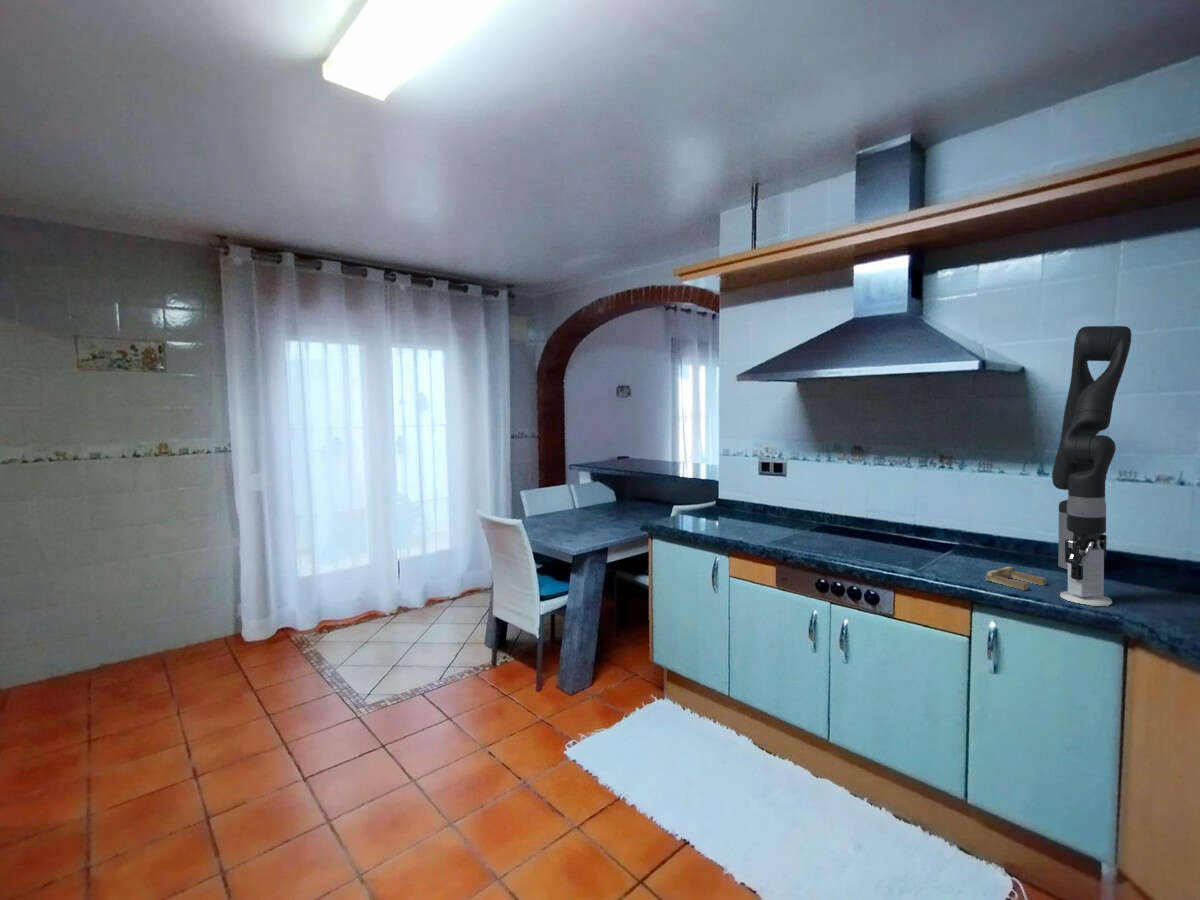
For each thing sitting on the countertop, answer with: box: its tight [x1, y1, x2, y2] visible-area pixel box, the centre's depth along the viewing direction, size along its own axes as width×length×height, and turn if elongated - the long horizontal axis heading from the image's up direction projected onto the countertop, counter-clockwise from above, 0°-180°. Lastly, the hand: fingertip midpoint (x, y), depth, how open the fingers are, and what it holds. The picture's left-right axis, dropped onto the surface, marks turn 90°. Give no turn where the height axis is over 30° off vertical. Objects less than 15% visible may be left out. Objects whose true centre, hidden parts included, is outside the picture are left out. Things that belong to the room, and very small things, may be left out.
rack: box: [985, 566, 1047, 591], centre depth 156 cm, size 10×10×3 cm
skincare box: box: [1067, 548, 1105, 597], centre depth 141 cm, size 6×4×12 cm
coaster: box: [1059, 590, 1113, 607], centre depth 141 cm, size 10×10×1 cm
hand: (1085, 576), depth 141 cm, fingers open, 7 cm apart
